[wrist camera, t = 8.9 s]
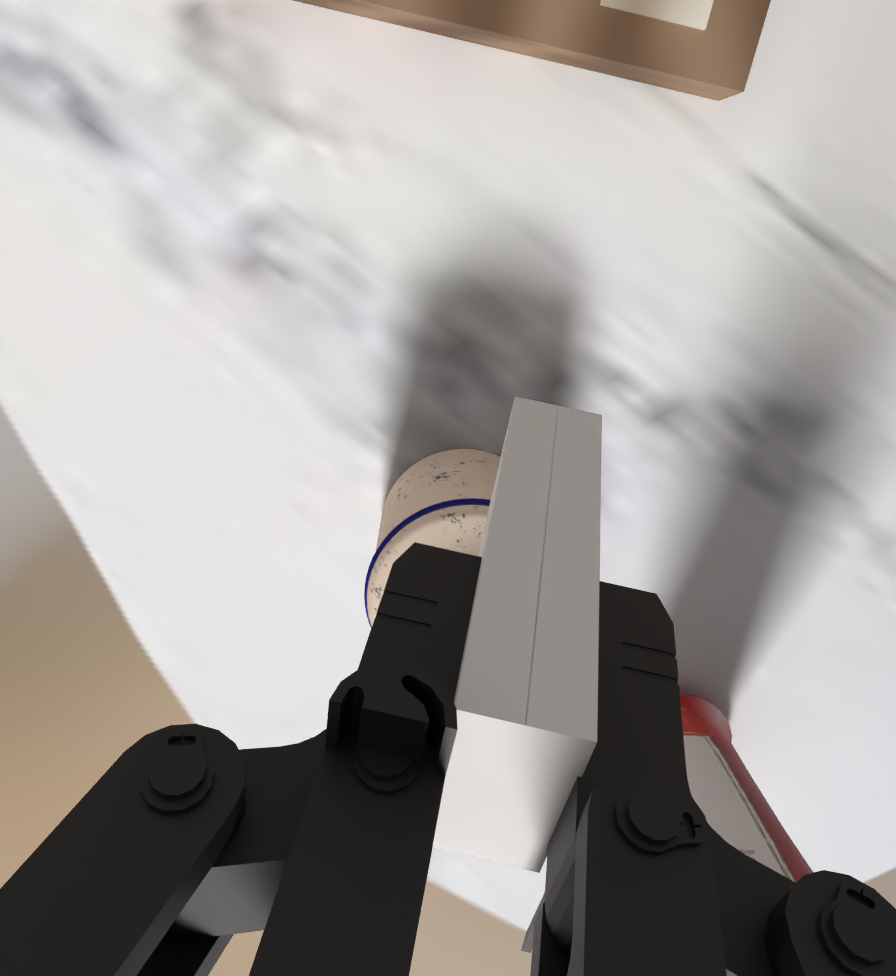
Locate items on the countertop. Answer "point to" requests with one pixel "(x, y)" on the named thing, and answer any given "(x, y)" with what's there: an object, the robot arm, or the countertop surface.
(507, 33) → the brown wooden base
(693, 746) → the liquor
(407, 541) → the teacup with lid
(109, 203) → the countertop surface
